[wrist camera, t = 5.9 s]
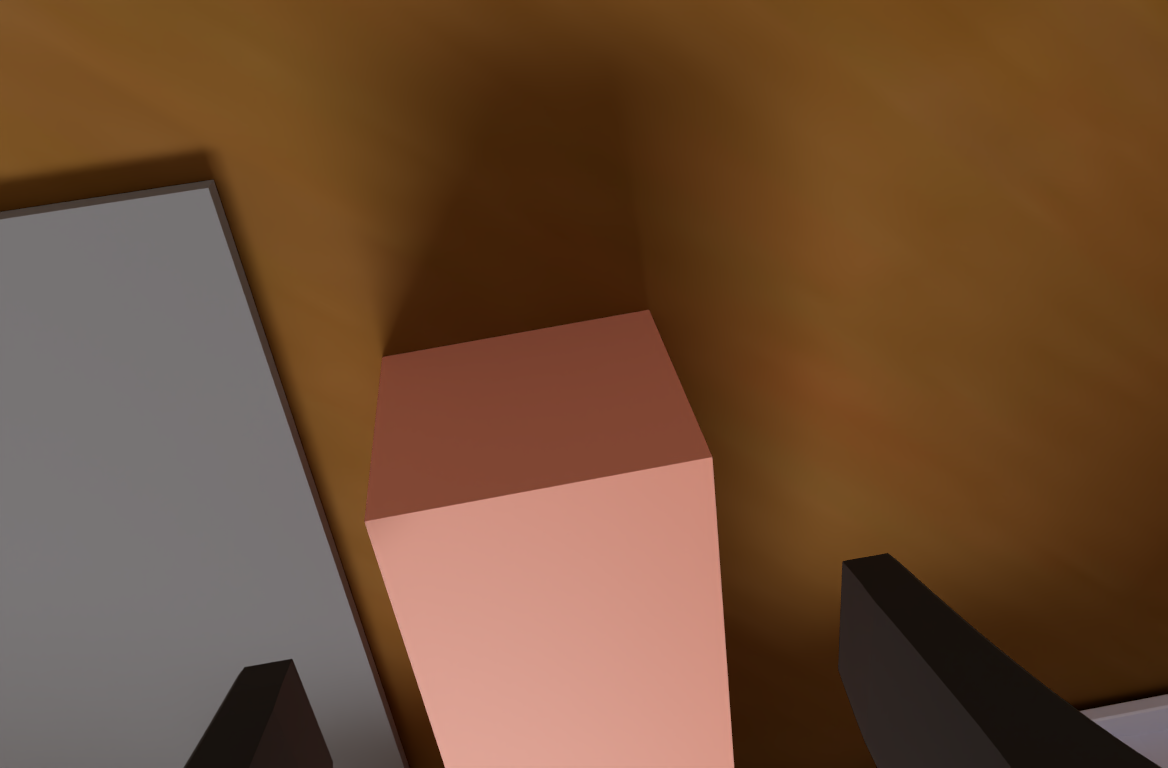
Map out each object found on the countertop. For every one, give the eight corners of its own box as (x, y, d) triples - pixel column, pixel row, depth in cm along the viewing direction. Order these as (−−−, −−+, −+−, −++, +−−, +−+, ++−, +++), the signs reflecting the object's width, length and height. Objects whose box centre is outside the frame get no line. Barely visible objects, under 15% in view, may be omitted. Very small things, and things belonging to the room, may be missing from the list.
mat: (213, 179, 15) (208, 188, 15) (433, 838, 25) (433, 852, 24) (-366, 267, 15) (-386, 277, 14) (84, 905, 24) (79, 920, 24)
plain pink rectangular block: (646, 304, 18) (712, 456, 13) (693, 746, 24) (746, 941, 20) (383, 351, 17) (363, 521, 13) (503, 783, 24) (517, 988, 20)
